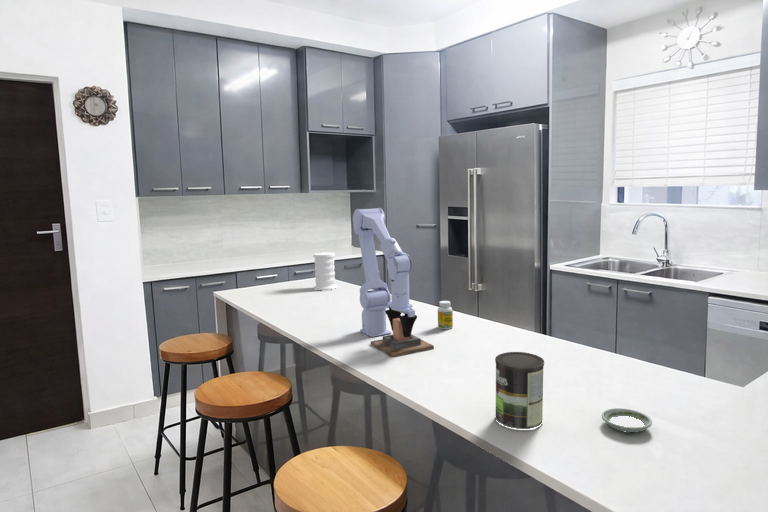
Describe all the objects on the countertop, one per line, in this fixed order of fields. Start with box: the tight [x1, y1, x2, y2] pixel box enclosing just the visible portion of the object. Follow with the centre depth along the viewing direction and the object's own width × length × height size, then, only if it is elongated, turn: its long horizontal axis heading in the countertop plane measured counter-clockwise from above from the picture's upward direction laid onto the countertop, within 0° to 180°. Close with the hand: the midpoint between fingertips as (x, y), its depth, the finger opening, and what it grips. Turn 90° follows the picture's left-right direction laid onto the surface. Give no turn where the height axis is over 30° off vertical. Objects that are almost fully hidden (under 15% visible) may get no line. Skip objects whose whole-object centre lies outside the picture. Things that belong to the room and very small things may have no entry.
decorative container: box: [312, 251, 338, 291], centre depth 263 cm, size 12×12×18 cm
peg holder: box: [370, 333, 435, 358], centre depth 168 cm, size 15×15×3 cm
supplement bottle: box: [437, 300, 454, 330], centre depth 187 cm, size 5×5×10 cm
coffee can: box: [494, 351, 545, 429], centre depth 113 cm, size 10×10×14 cm
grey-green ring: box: [601, 407, 653, 433], centre depth 110 cm, size 10×10×2 cm
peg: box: [392, 318, 410, 341], centre depth 167 cm, size 4×4×8 cm
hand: (401, 333), depth 167 cm, fingers open, 7 cm apart
